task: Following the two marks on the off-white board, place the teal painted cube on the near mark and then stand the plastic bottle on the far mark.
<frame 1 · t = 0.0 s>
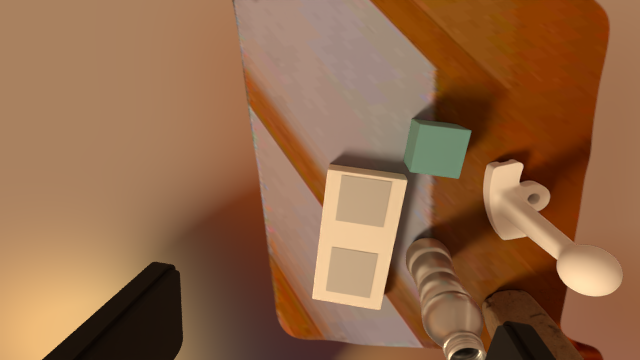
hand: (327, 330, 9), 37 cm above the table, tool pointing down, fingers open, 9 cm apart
cube: (429, 142, 43), on the table
board: (355, 235, 49), on the table
plastic bottle: (424, 250, 48), on the table
joystick: (511, 195, 44), on the table
block: (505, 312, 50), on the table
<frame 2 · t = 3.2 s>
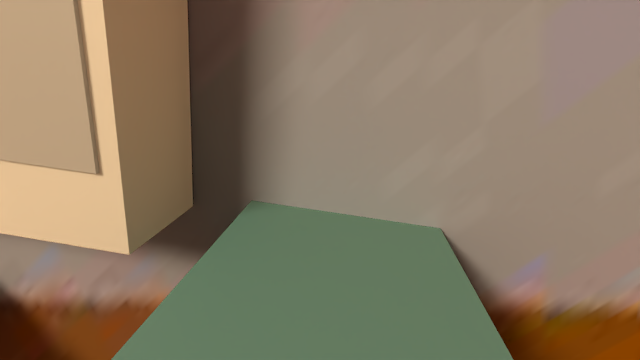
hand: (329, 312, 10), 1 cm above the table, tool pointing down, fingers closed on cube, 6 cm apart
cube: (332, 292, 11), on the table, touching gripper
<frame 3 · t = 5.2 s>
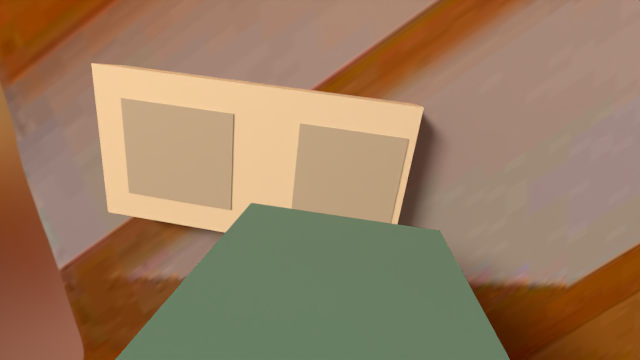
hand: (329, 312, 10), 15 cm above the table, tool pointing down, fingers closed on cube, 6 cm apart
cube: (331, 294, 11), point 14 cm above the table, touching gripper
board: (259, 156, 24), on the table
when the fingers open (5 cm above the table, at t = 7.5 s): cube stays where it is, resting on board.
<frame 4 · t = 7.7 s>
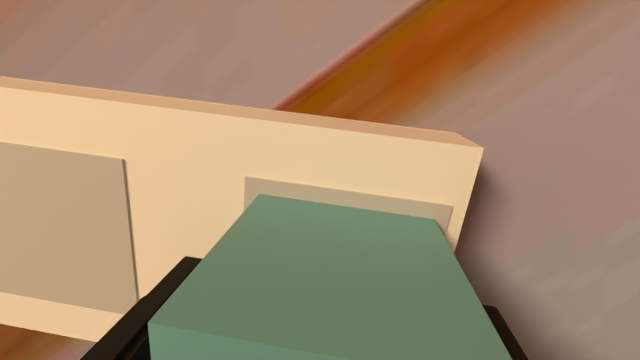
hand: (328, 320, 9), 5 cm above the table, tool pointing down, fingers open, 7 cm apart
cube: (334, 279, 11), point 3 cm above the table, touching board
board: (194, 216, 15), on the table
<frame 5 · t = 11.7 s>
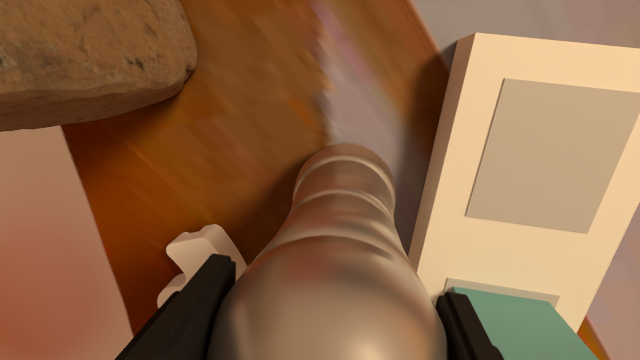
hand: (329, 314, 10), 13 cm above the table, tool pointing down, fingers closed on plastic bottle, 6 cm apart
cube: (487, 330, 21), point 3 cm above the table, touching board
board: (498, 217, 22), on the table
plastic bottle: (345, 181, 22), on the table, touching gripper
joystick: (213, 285, 27), on the table
block: (141, 25, 21), on the table
when the fingers open (17 cm above the table, at t = 15.8 s): plastic bottle stays where it is, resting on board.
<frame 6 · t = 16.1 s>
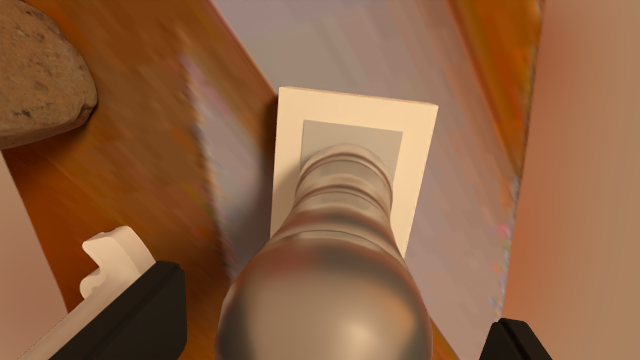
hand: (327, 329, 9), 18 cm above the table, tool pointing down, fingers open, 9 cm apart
board: (339, 221, 27), on the table
plastic bottle: (345, 180, 23), point 3 cm above the table, touching board
joystick: (130, 275, 32), on the table
block: (55, 71, 26), on the table
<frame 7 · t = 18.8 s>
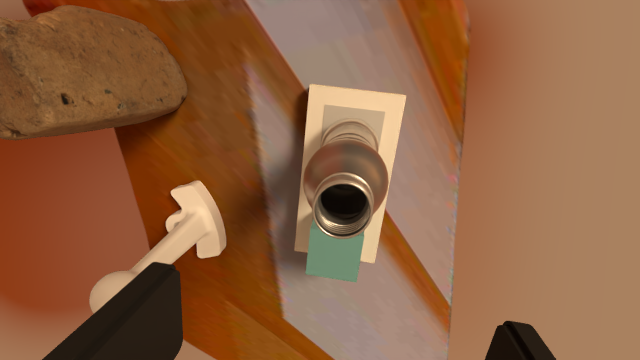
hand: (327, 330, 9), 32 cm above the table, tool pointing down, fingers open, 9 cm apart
cube: (337, 231, 40), point 3 cm above the table, touching board
board: (345, 174, 41), on the table
plastic bottle: (350, 143, 37), point 3 cm above the table, touching board
joystick: (198, 217, 46), on the table
block: (158, 74, 40), on the table
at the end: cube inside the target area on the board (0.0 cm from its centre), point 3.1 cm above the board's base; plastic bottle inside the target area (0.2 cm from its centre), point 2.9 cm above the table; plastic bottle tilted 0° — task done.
